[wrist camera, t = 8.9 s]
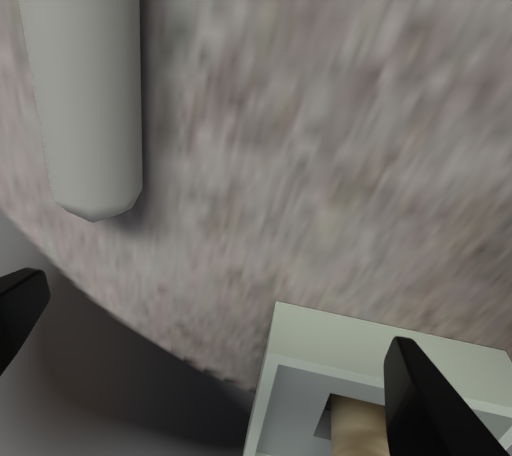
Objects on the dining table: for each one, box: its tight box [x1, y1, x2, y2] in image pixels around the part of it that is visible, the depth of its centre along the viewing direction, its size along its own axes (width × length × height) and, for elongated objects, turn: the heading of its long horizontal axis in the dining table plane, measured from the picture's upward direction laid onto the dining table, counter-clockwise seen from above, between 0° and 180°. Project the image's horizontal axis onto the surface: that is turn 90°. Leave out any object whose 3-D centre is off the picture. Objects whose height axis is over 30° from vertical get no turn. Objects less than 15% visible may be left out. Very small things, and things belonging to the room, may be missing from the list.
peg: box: [331, 393, 390, 456], centre depth 25 cm, size 4×4×8 cm
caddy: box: [243, 301, 512, 456], centre depth 27 cm, size 16×16×4 cm
